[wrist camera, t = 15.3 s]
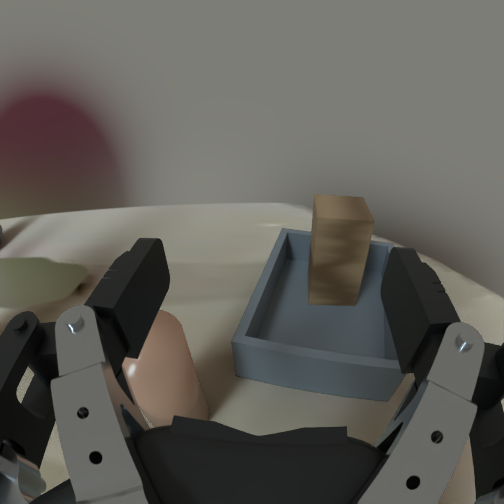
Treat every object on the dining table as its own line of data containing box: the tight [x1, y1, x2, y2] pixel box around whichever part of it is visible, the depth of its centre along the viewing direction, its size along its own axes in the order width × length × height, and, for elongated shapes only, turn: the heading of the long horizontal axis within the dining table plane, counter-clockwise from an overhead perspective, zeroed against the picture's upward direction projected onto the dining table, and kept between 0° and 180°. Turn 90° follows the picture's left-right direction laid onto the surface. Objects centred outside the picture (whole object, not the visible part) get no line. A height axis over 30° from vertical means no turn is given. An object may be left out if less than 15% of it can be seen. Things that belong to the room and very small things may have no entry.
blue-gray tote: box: [231, 228, 406, 401], centre depth 28 cm, size 14×18×5 cm
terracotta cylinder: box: [123, 310, 209, 427], centre depth 18 cm, size 5×5×10 cm
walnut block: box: [307, 194, 374, 306], centre depth 29 cm, size 5×5×10 cm
